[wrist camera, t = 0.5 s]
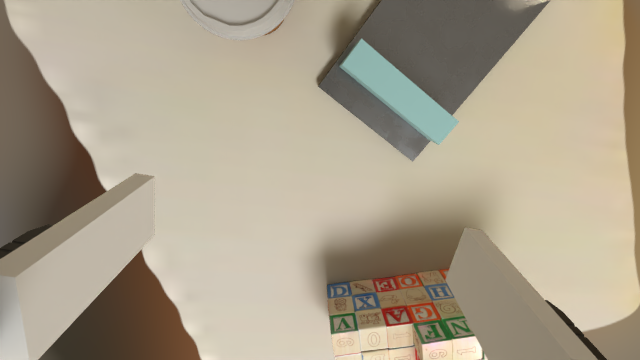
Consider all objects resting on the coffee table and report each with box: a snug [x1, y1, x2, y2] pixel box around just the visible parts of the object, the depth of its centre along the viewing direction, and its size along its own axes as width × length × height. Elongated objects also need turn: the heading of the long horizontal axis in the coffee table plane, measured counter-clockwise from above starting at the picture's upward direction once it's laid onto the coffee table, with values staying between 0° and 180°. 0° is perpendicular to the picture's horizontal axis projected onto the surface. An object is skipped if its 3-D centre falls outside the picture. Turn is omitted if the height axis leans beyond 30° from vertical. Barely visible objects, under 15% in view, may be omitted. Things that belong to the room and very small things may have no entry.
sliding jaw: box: [339, 39, 459, 145], centre depth 35 cm, size 3×13×4 cm, turn 53°
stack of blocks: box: [327, 269, 488, 360], centre depth 40 cm, size 21×6×12 cm, turn 97°
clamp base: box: [318, 0, 550, 161], centre depth 34 cm, size 25×14×5 cm, turn 143°
